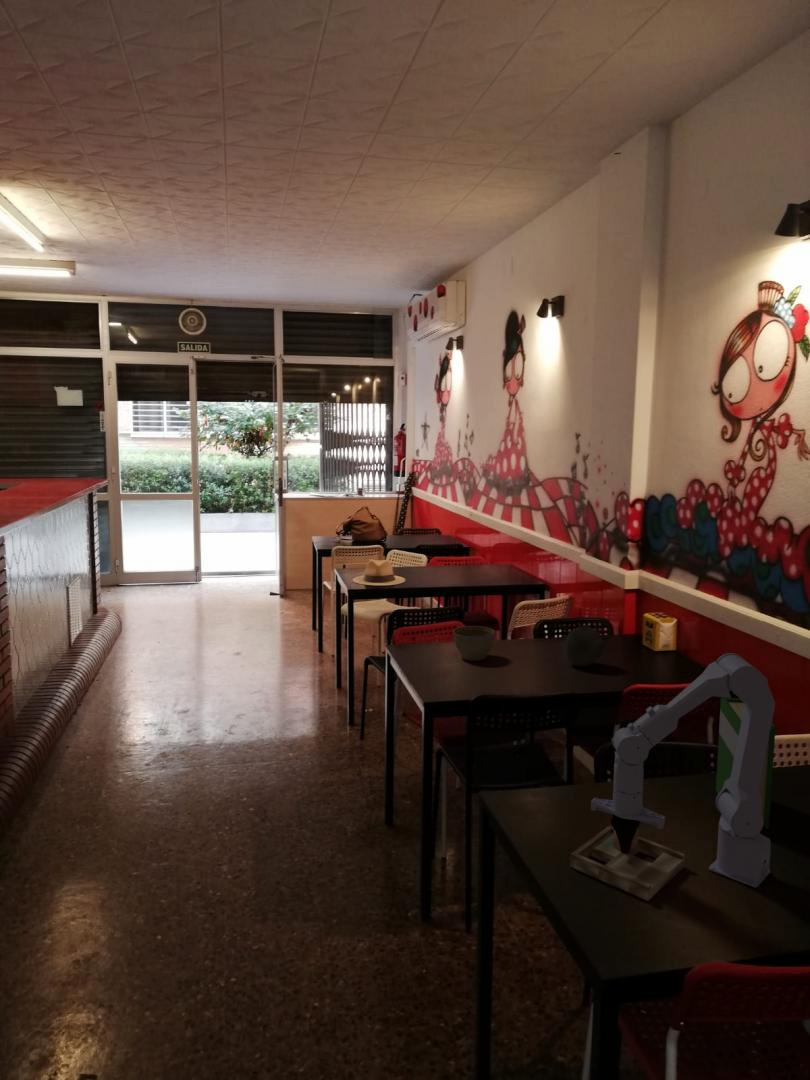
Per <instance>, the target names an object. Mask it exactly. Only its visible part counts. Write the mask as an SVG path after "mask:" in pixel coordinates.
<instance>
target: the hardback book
mask: <svg viewBox="0 0 810 1080" xmlns="http://www.w3.org/2000/svg"><path fill="white" fill-rule="evenodd" d="M719 707H720V708H719V726H718V727H719V728H718V745H717V747H718V748H717V762H716V763H717V764H716V779H715V792H716V791H717V792H716V794H717V793H718V794H719V793H720V792H721V790H722V789H723V786H724V782H725V781H726V780H727V779H729V778H730V777H731V772H732V766H733V761H734V756H735V751H736V746H737V741H738V736H739V731H740V726H741V721H742V715H743V710H744V703H743V701H742V700H741V699H740V698H739V697H730V698H727V697H720V706H719ZM775 739H776V725H775V724H774V723H773V722H772V723H771V728H770V733H769V738H768V743H767V748H766V753H765V758H764V763H763V768H762V773H761V778H760V783H759V793H760V797H761V801H762V808H761V814H762V817H763V821H764V823H763V828H764V829H766V830H767V829H770V819H771V818H770V817H771V815H770V814H771V801H772V800H771V799H772V787H773V786H772V785H773V772H774V771H773V769H774V753H775ZM718 794H717V795H718Z"/></svg>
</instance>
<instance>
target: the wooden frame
mask: <svg viewBox="0 0 810 1080" xmlns="http://www.w3.org/2000/svg"><path fill="white" fill-rule="evenodd" d="M613 842H614V828H613V826H612V825H608V826H607V827H605V828H604V829H603V830H601V831H600V832H598V833H596V835H594V836H593V837H592V838H590V839H589V840H587V841H586V842H585V843H583V844H581V846H579V847H578V848H577V849H575V850H574V851H572V852H571V853H570V857H569V858H570V859H569V861H570V862H569V867H570V868H572V869H575V870H577V871H579V872H581V873H584V874H586V875H588V876H591V877H592V878H595V879H597V880H600V881H602V882H604V883H606V884H609V885H611V886H613V887H616V888H618V889H620V890H622V891H625V892H627V893H629V894H631V895H634V896H635V897H638V898H640V899H642V900H644V901H648V902H649V901H650V900H651V899H652V898H653V897H654V896H655V895H656V894H658V893H659V891H661V889H663V888H664V887H665V886H666V884H668V883H669V882H670V881H671V880H673V878H674V877H675V876H677V874H679V873H680V871H682V870H683V869H684V868H685V863H686V861H685V860H686V854H685V853H683V852H681V851H678V850H675V849H674V848H671V847H668V846H665V845H662V844H660V843H657V842H655V841H652V840H650V839H647V838H644V837H642V836H639V840H638V850H637V851H636V852H634V853H628V854H625V853H622V852H620V851H618V850H616V849H615V848H614V846H613ZM638 853H641V854H645V855H647V856H649V857H651V858H654V860H653V862H650V861H648V860H645V859H642V858H640V857H638V856H636V855H637V854H638ZM591 857H593V858H595V859H597V860H600V861H601V862H602V861H603V862H604V863H606V864H602V863H599V862H598V861H595V860H593V859H591Z"/></svg>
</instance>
